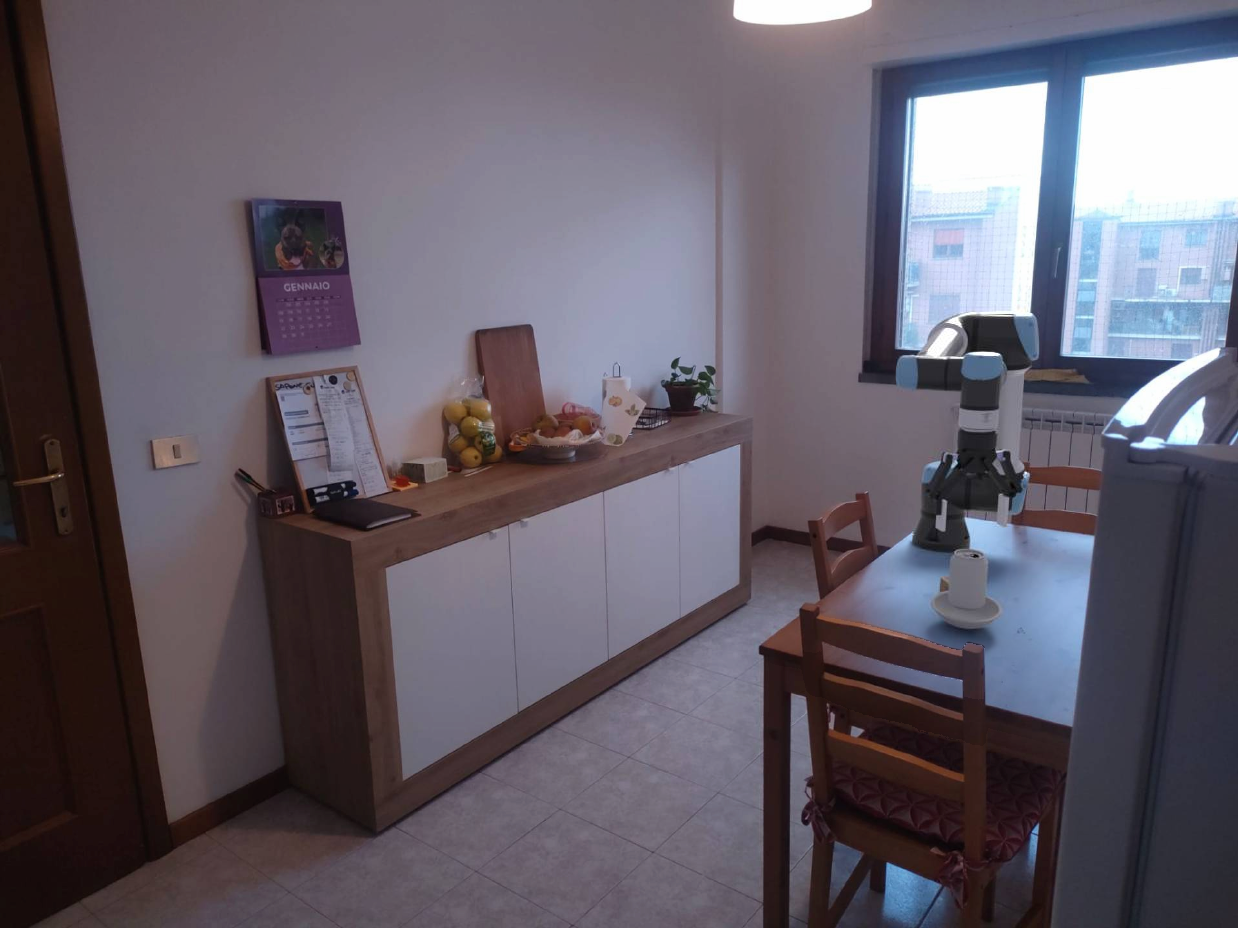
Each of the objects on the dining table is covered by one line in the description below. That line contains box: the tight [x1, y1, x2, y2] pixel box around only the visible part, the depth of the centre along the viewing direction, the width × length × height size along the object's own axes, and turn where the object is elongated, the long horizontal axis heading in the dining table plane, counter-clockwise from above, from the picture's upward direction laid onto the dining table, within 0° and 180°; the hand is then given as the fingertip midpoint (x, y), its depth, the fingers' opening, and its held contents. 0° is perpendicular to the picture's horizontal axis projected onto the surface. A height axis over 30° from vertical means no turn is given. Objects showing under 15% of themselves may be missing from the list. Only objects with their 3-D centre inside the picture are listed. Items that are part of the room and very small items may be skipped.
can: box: [948, 548, 989, 611], centre depth 184 cm, size 8×8×12 cm
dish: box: [930, 591, 1003, 630], centre depth 186 cm, size 18×14×5 cm
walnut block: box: [939, 576, 949, 593], centre depth 203 cm, size 6×5×4 cm
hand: (971, 527), depth 181 cm, fingers open, 13 cm apart
